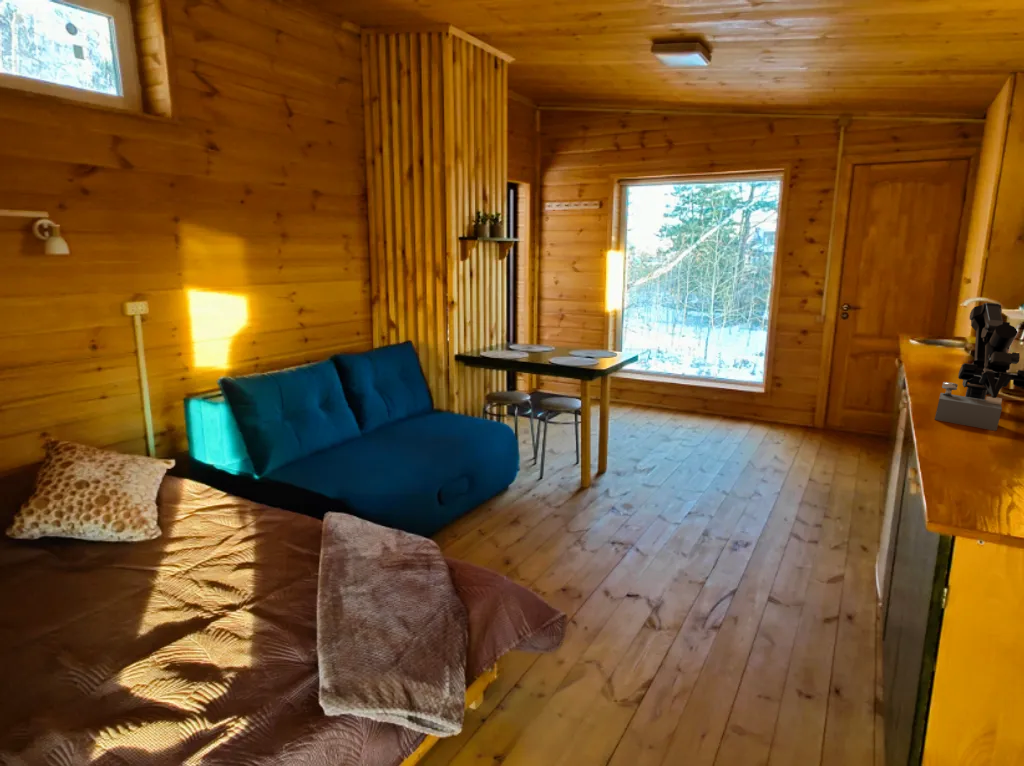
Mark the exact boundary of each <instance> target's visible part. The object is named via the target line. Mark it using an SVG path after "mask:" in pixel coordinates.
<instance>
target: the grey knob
mask: <svg viewBox="0 0 1024 766" xmlns="http://www.w3.org/2000/svg"><path fill="white" fill-rule="evenodd" d="M958 386H959V385H958V384H957V383H955V382H949V381H943V382H942V385H941V388H942V389H945V396H951V394H952V391H957V389H958Z"/></svg>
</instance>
